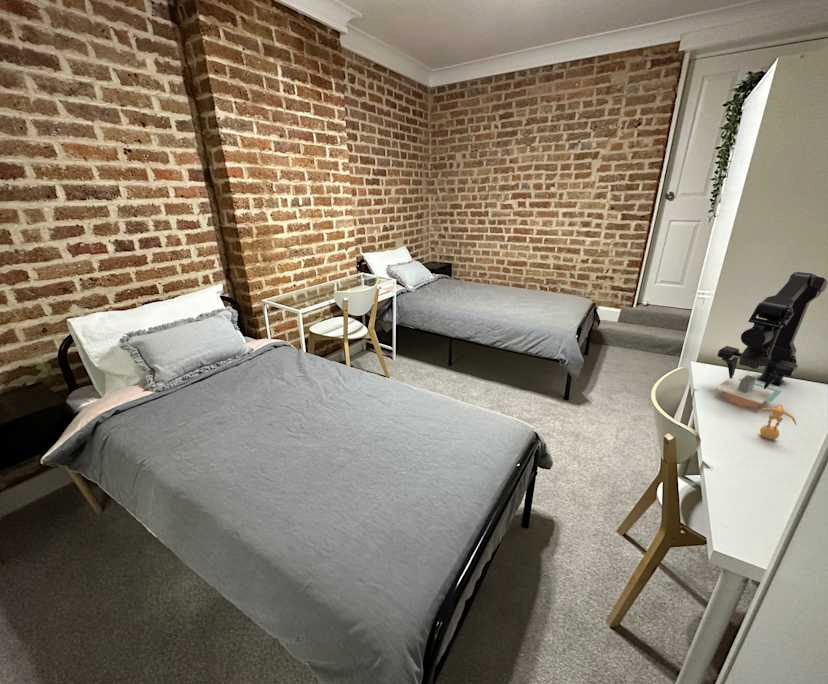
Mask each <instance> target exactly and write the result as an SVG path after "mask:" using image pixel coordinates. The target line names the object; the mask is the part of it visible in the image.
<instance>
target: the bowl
mask: <svg viewBox="0 0 828 684" xmlns="http://www.w3.org/2000/svg"><path fill="white" fill-rule="evenodd" d="M722 396H723V398H724V399H725V400H726V401H728V403H731V404H733V405H734V404H735V405H737V406H741V407H744V408H756V409H757V408H758V407H759V406H760V405H761V404H760V403H757V402H754V401H751V400H748V399H745V398H742V397H739V396H736V395H733V394H730V393H727V392H724V391H723V395H722Z"/></svg>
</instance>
